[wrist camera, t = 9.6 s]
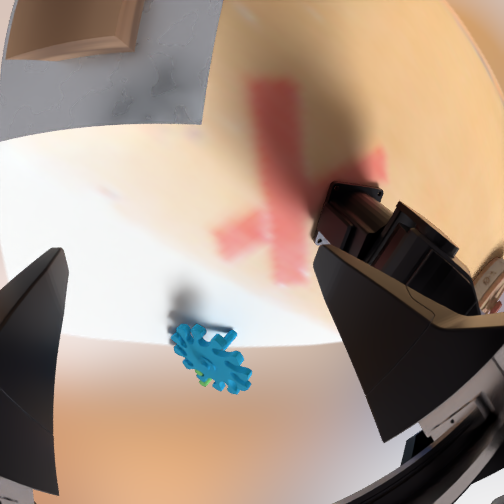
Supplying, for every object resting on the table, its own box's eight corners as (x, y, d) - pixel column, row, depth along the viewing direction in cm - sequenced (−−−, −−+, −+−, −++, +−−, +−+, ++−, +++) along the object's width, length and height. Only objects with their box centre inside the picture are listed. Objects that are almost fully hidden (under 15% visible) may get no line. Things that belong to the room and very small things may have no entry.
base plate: (231, -49, 9) (240, -63, 7) (197, 119, 17) (201, 124, 15) (43, -33, 4) (31, -42, 2) (16, 132, 12) (-1, 141, 10)
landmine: (483, 259, 47) (509, 284, 39) (507, 252, 54) (527, 271, 46) (439, 326, 60) (458, 351, 53) (472, 308, 67) (488, 328, 60)
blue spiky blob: (171, 313, 24) (259, 378, 22) (208, 281, 29) (286, 335, 27) (164, 361, 31) (228, 409, 29) (192, 333, 35) (252, 376, 33)
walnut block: (150, -20, 8) (144, -64, 3) (134, 52, 11) (115, 35, 6) (70, -10, 6) (32, -39, 2) (55, 61, 9) (5, 59, 4)
